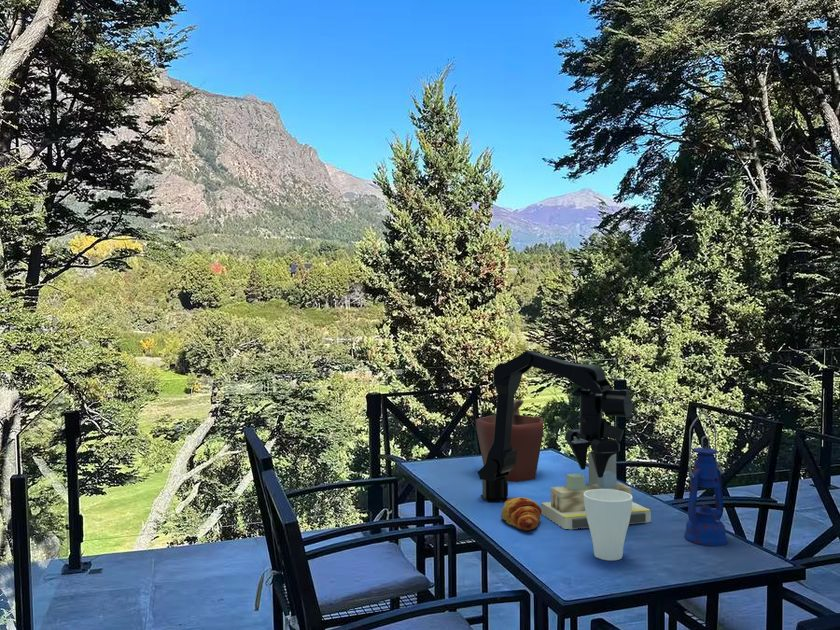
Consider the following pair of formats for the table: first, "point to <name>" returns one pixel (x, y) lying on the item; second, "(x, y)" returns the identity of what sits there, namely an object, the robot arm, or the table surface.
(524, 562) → the table surface
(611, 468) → the cup
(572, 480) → the grey-green cube
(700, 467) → the lantern
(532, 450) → the bucket
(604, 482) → the blue-grey cube
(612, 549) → the cup
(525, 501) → the croissant
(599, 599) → the table surface
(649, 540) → the table surface
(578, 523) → the dock
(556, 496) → the wooden block
